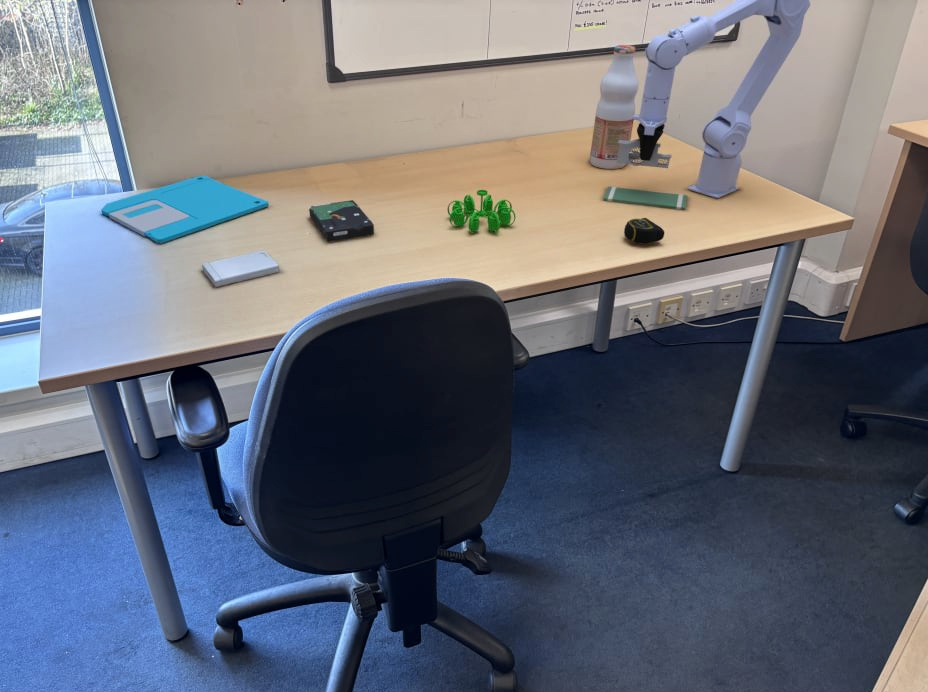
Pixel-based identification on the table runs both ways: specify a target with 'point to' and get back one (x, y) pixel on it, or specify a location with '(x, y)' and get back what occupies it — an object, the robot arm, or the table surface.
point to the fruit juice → (615, 109)
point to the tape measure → (643, 231)
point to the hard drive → (240, 268)
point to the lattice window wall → (629, 145)
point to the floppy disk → (181, 208)
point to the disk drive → (341, 221)
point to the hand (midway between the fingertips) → (645, 158)
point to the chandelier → (481, 213)
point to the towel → (646, 198)
